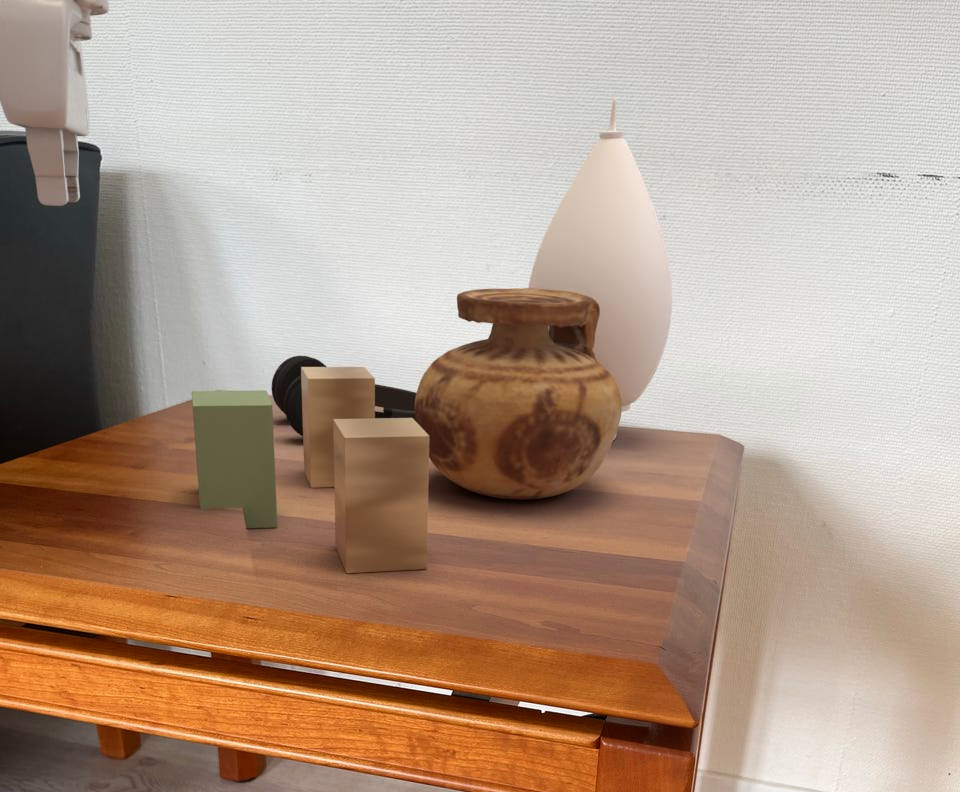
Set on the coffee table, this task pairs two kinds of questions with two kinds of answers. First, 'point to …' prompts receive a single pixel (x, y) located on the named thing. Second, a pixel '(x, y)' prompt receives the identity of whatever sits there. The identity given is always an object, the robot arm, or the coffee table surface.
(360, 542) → the maple block near
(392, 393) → the headphones
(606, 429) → the clay pot
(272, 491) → the green block
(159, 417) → the coffee table surface
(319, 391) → the maple block far
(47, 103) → the robot arm
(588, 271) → the lamp
